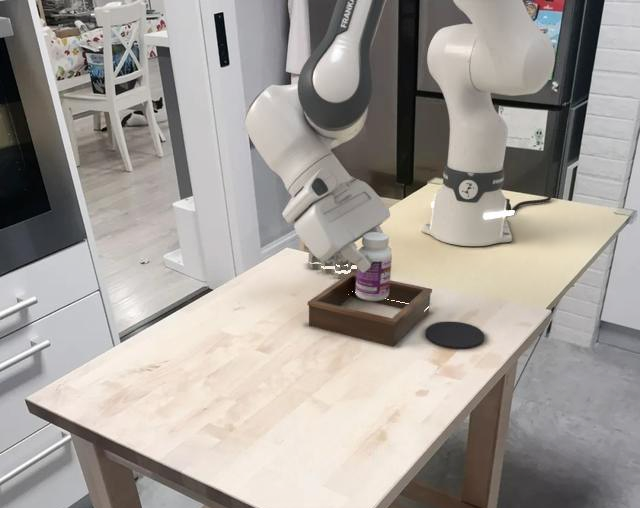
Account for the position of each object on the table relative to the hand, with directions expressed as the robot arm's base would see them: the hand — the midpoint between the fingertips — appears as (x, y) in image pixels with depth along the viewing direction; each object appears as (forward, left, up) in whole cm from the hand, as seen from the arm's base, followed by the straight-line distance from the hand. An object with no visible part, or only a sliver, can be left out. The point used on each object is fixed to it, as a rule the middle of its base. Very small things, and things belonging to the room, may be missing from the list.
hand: (377, 262), depth 110 cm
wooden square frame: (0, -1, -10) cm, 10 cm away
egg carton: (-19, -13, -10) cm, 25 cm away
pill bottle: (0, -1, -6) cm, 6 cm away
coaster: (+2, +13, -10) cm, 16 cm away
